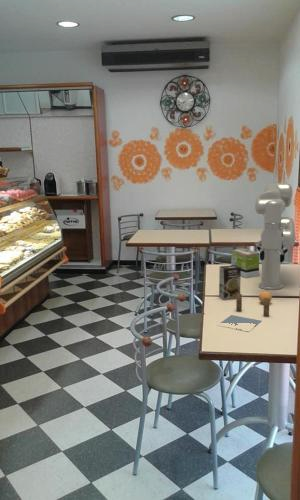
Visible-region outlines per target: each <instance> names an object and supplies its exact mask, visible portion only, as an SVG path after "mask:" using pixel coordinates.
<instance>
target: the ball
mask: <svg viewBox="0 0 300 500" xmlns="http://www.w3.org/2000/svg"><path fill="white" fill-rule="evenodd" d="M264 298H269V303H271V302H272V299H273V296H272V294H271V293H270V292H269V291H268V290H267V291H266V290H264V291H262V292H260V293H259V295H258V300H259V301H260V303H261V304H264Z"/></svg>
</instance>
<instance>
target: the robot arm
mask: <svg viewBox="0 0 300 500" xmlns="http://www.w3.org/2000/svg"><path fill="white" fill-rule="evenodd" d="M292 198H293V187H292V185H291V183H288V182H277V183H276V182H274V183H269V184H267V185H266V186H265V188H264V192H263V193H261V194H259V195H257V196H256V198H255V203H254V204H255V205H254V210H255V213H257V214H258V215H262V216H263V230H262V231H261V234H260V240H259V241H257V242H254V245H255V247H256V249H257V251H259V252H258V253H259V259H260V261H261V282H259V283H258V288H261V289H262V290H263V289H264V290H271V291H273V290H274V291H276V290H281V289H283V287H284V285H283V283H281V282H280V280H281V263H283V262H284V261H285V259H286V258H285V255H286V253H288V252H289V250H290V248H292V247H294V245H295V244H296V229H295V222H294V219H293V218H292V217H288V216H282V214H283V212H285V211H286V208H288V207H290V206H291V205H292Z"/></svg>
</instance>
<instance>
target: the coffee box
mask: <svg viewBox="0 0 300 500" xmlns="http://www.w3.org/2000/svg"><path fill="white" fill-rule="evenodd" d="M218 270H219V276H218V277H219V279H218V281H219V284H218V285H219V286H218V288H219V289H218V290H219V291H218V297H219V298H221V300H223V301H228V300H236V294H241V281H242V279H241V278H242V276H241V267H239V266H236V265H221V266H219V269H218Z"/></svg>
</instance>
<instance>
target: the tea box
mask: <svg viewBox="0 0 300 500" xmlns="http://www.w3.org/2000/svg"><path fill="white" fill-rule="evenodd" d="M230 251H231V261H230V263H231V265H236V266H239V267H241V278H244V279H250V278H255V277H259V276H260V252H258V251H255V250H252V249H251V250H250V249H248V248H237V249H231V250H230Z"/></svg>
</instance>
